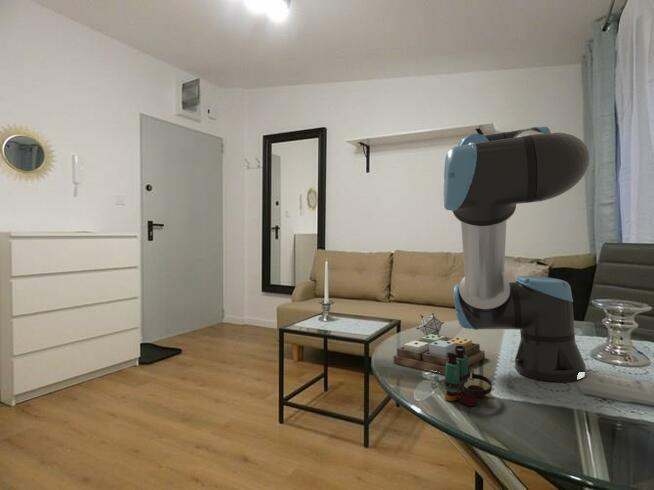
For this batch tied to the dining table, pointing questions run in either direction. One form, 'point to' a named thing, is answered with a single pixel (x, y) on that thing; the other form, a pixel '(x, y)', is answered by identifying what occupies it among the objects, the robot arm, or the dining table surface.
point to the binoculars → (462, 379)
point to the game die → (430, 325)
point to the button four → (462, 342)
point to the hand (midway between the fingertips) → (480, 268)
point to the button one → (416, 346)
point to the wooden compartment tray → (434, 358)
